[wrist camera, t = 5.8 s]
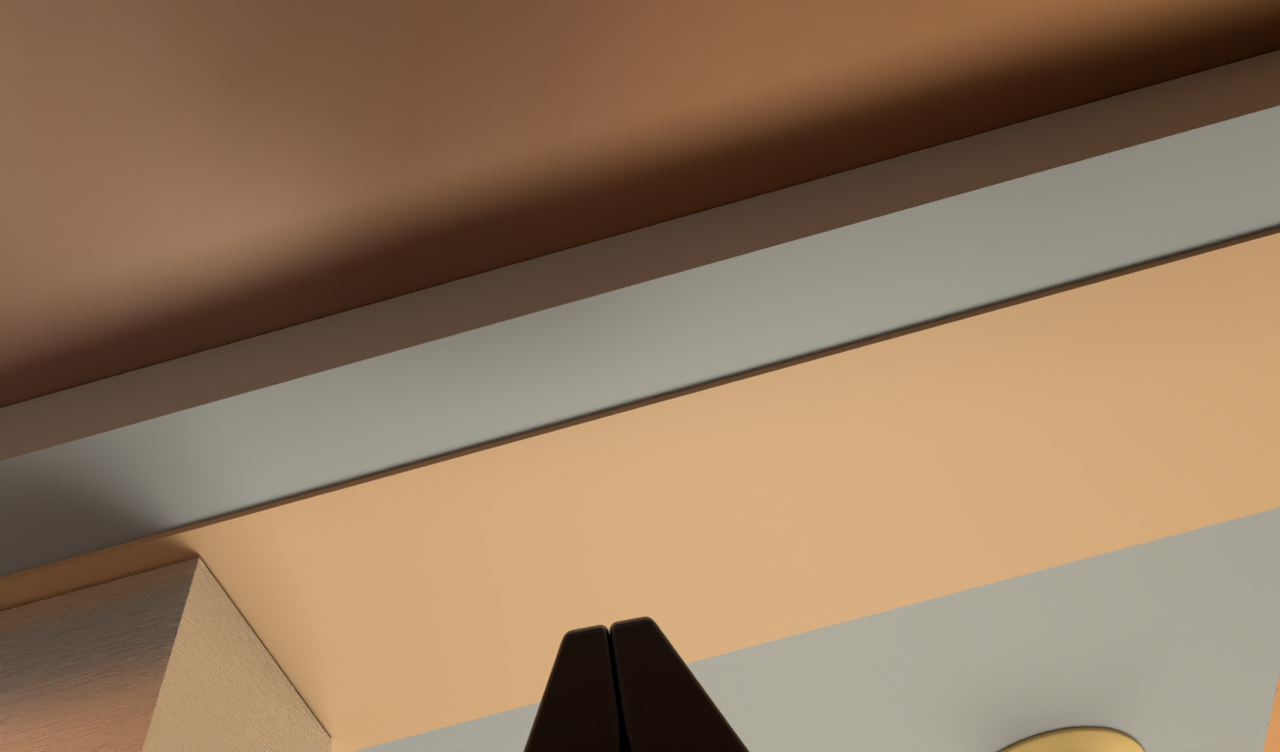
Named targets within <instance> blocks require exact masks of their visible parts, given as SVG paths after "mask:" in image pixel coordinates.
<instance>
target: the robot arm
mask: <svg viewBox="0 0 1280 752" xmlns="http://www.w3.org/2000/svg"><path fill="white" fill-rule="evenodd" d="M609 632H610V633H609ZM523 752H750V751H749V750H748V749H747V747H746V746H745V745H744V743H743V742H742V740H741V739H740V738H739V736H738V735H737V734H736V732H735V731H734V729H733V728H732V727H731V725H730V724H729V722H728V721H727V720H726V718H725V717H724V716H723V714H722V713H721V711H720V710H719V709H718V707H717V706H716V705H715V703H714V702H713V700H712V699H711V698H710V696H709V695H708V694H707V692H706V691H705V689H704V688H703V687H702V685H701V684H700V683H699V681H698V680H697V678H696V677H695V676H694V674H693V673H692V671H691V670H690V669H689V667H688V666H687V665H686V663H685V662H684V660H683V659H682V658H681V656H680V655H679V654H678V652H677V651H676V649H675V648H674V647H673V645H672V644H671V643H670V641H669V640H668V638H667V637H666V636H665V634H664V633H663V632H662V630H661V629H660V627H659V626H658V625H657V623H656V622H655V621H654V620H653V619H652V618H650V617H648V616H643V617H638V618H632V619H627V620H622V621H616V622H614V623H613V624H612V625H611V626H610V629H609V630H608V628H607V627H606V626H604V625H595V626H590V627H584V628H579V629H574V630H570V631H568V632H567V633H566V634H565V635H564V637H563V638H562V641H561V644H560V646H559V649H558V652H557V655H556V658H555V661H554V664H553V667H552V670H551V673H550V676H549V679H548V681H547V684H546V687H545V690H544V693H543V696H542V699H541V702H540V705H539V708H538V711H537V713H536V716H535V719H534V722H533V725H532V728H531V731H530V734H529V737H528V740H527V743H526V745H525V748H524V751H523Z"/></svg>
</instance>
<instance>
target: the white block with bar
mask: <svg viewBox="0 0 1280 752" xmlns="http://www.w3.org/2000/svg"><path fill="white" fill-rule="evenodd" d="M332 742H333V741H332V740H331V739H330V737H329V736H328V734H327V733H326V732H325V730H324V729H323V727H322V726H321V725H320V723H319V722H318V721H317V719H316V718H315V716H314V715H313V714H312V712H311V711H310V710H309V708H308V707H307V705H306V704H305V703H304V701H303V700H302V698H301V697H300V696H299V694H298V693H297V692H296V690H295V689H294V687H293V686H292V685H291V683H290V682H289V680H288V679H287V678H286V676H285V675H284V674H283V672H282V671H281V669H280V668H279V667H278V665H277V664H276V663H275V661H274V660H273V658H272V657H271V656H270V654H269V653H268V651H267V650H266V649H265V647H264V646H263V645H262V643H261V642H260V640H259V639H258V638H257V636H256V635H255V634H254V632H253V631H252V629H251V628H250V627H249V625H248V624H247V622H246V621H245V620H244V618H243V617H242V616H241V614H240V613H239V611H238V610H237V609H236V607H235V606H234V604H233V603H232V602H231V600H230V599H229V598H228V596H227V595H226V593H225V592H224V591H223V589H222V588H221V587H220V585H219V584H218V582H217V581H216V580H215V578H214V577H213V575H212V574H211V573H210V571H209V570H208V569H207V567H206V566H205V564H204V563H203V562H202V560H201V559H200V557H199V558H195V559H191V560H188V561H184V562H180V563H177V564H173V565H169V566H166V567H162V568H158V569H155V570H151V571H147V572H144V573H140V574H136V575H133V576H129V577H125V578H122V579H118V580H114V581H111V582H107V583H103V584H99V585H96V586H92V587H88V588H85V589H81V590H77V591H74V592H70V593H66V594H63V595H59V596H55V597H52V598H48V599H44V600H41V601H37V602H33V603H30V604H26V605H22V606H19V607H15V608H11V609H8V610H4V611H0V752H331V749H332Z"/></svg>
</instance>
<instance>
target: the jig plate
mask: <svg viewBox="0 0 1280 752" xmlns="http://www.w3.org/2000/svg"><path fill="white" fill-rule="evenodd" d="M199 557H200V559H201V560H202V562H203V563H204V564H205V566H206V567H207V569H208V570H209V571H210V573H211V574H212V575H213V577H214V578H215V580H216V581H217V582H218V584H219V585H220V587H221V588H222V589H223V591H224V592H225V593H226V595H227V596H228V598H229V599H230V600H231V602H232V603H233V604H234V606H235V607H236V609H237V610H238V611H239V613H240V614H241V616H242V617H243V618H244V620H245V621H246V622H247V624H248V625H249V627H250V628H251V629H252V631H253V632H254V634H255V635H256V636H257V638H258V639H259V640H260V642H261V643H262V645H263V646H264V647H265V649H266V650H267V651H268V653H269V654H270V656H271V657H272V658H273V660H274V661H275V663H276V664H277V665H278V667H279V668H280V669H281V671H282V672H283V674H284V675H285V676H286V678H287V679H288V680H289V682H290V683H291V685H292V686H293V687H294V689H295V690H296V692H297V693H298V694H299V696H300V697H301V698H302V700H303V701H304V703H305V704H306V705H307V707H308V708H309V710H310V711H311V712H312V714H313V715H314V716H315V718H316V719H317V721H318V722H319V723H320V725H321V726H322V727H323V729H324V730H325V732H326V733H327V734H328V736H329V737H330V739H331V740H332V741H333V742H332V749H331V752H523V751H524V748H525V745H526V743H527V740H528V737H529V734H530V731H531V728H532V725H533V722H534V719H535V716H536V713H537V711H538V708H539V705H540V702H541V699H542V696H543V693H544V690H545V687H546V684H547V681H548V679H549V676H550V673H551V670H552V667H553V664H554V661H555V658H556V655H557V652H558V649H559V646H560V644H561V641H562V638H563V637H564V635H565V634H566V633H567V632H568V631H570V630H574V629H579V628H584V627H590V626H595V625H604V626H606V627H607V628H608V630H609V629H610V626H611V625H612V624H613V623H614V622H616V621H622V620H627V619H632V618H638V617H643V616H648V617H650V618H652V619H653V620H654V621H655V622H656V623H657V625H658V626H659V627H660V629H661V630H662V632H663V633H664V634H665V636H666V637H667V638H668V640H669V641H670V643H671V644H672V645H673V647H674V648H675V649H676V651H677V652H678V654H679V655H680V656H681V658H682V659H683V660H684V662H685V663H686V665H687V666H688V667H689V669H690V670H691V671H692V673H693V674H694V676H695V677H696V678H697V680H698V681H699V683H700V684H701V685H702V687H703V688H704V689H705V691H706V692H707V694H708V695H709V696H710V698H711V699H712V700H713V702H714V703H715V705H716V706H717V707H718V709H719V710H720V711H721V713H722V714H723V716H724V717H725V718H726V720H727V721H728V722H729V724H730V725H731V727H732V728H733V729H734V731H735V732H736V734H737V735H738V736H739V738H740V739H741V740H742V742H743V743H744V745H745V746H746V747H747V749H748V750H749V751H750V752H1263V748H1264V743H1265V739H1266V734H1267V729H1268V724H1269V720H1270V715H1271V710H1272V705H1273V701H1274V696H1275V691H1276V686H1277V682H1278V677H1279V672H1280V50H1277V51H1274V52H1270V53H1266V54H1263V55H1259V56H1256V57H1252V58H1249V59H1245V60H1241V61H1238V62H1234V63H1231V64H1227V65H1224V66H1220V67H1216V68H1213V69H1209V70H1206V71H1202V72H1199V73H1195V74H1191V75H1188V76H1184V77H1181V78H1177V79H1174V80H1170V81H1166V82H1163V83H1159V84H1156V85H1152V86H1149V87H1145V88H1141V89H1138V90H1134V91H1131V92H1127V93H1124V94H1120V95H1116V96H1113V97H1109V98H1106V99H1102V100H1099V101H1095V102H1091V103H1088V104H1084V105H1081V106H1077V107H1074V108H1070V109H1066V110H1063V111H1059V112H1056V113H1052V114H1049V115H1045V116H1041V117H1038V118H1034V119H1031V120H1027V121H1024V122H1020V123H1016V124H1013V125H1009V126H1006V127H1002V128H999V129H995V130H991V131H988V132H984V133H981V134H977V135H974V136H970V137H966V138H963V139H959V140H956V141H952V142H949V143H945V144H941V145H938V146H934V147H931V148H927V149H924V150H920V151H916V152H913V153H909V154H906V155H902V156H899V157H895V158H891V159H888V160H884V161H881V162H877V163H874V164H870V165H866V166H863V167H859V168H856V169H852V170H849V171H845V172H841V173H838V174H834V175H831V176H827V177H824V178H820V179H816V180H813V181H809V182H806V183H802V184H799V185H795V186H791V187H788V188H784V189H781V190H777V191H774V192H770V193H766V194H763V195H759V196H756V197H752V198H749V199H745V200H741V201H738V202H734V203H731V204H727V205H724V206H720V207H716V208H713V209H709V210H706V211H702V212H699V213H695V214H691V215H688V216H684V217H681V218H677V219H674V220H670V221H666V222H663V223H659V224H656V225H652V226H649V227H645V228H641V229H638V230H634V231H631V232H627V233H624V234H620V235H616V236H613V237H609V238H606V239H602V240H599V241H595V242H591V243H588V244H584V245H581V246H577V247H574V248H570V249H566V250H563V251H559V252H556V253H552V254H549V255H545V256H541V257H538V258H534V259H531V260H527V261H524V262H520V263H516V264H513V265H509V266H506V267H502V268H499V269H495V270H491V271H488V272H484V273H481V274H477V275H474V276H470V277H466V278H463V279H459V280H456V281H452V282H449V283H445V284H441V285H438V286H434V287H431V288H427V289H424V290H420V291H416V292H413V293H409V294H406V295H402V296H399V297H395V298H391V299H388V300H384V301H381V302H377V303H374V304H370V305H366V306H363V307H359V308H356V309H352V310H349V311H345V312H341V313H338V314H334V315H331V316H327V317H324V318H320V319H316V320H313V321H309V322H306V323H302V324H299V325H295V326H291V327H288V328H284V329H281V330H277V331H274V332H270V333H266V334H263V335H259V336H256V337H252V338H249V339H245V340H241V341H238V342H234V343H231V344H227V345H224V346H220V347H216V348H213V349H209V350H206V351H202V352H199V353H195V354H191V355H188V356H184V357H181V358H177V359H174V360H170V361H166V362H163V363H159V364H156V365H152V366H149V367H145V368H141V369H138V370H134V371H131V372H127V373H124V374H120V375H116V376H113V377H109V378H106V379H102V380H99V381H95V382H91V383H88V384H84V385H81V386H77V387H74V388H70V389H66V390H63V391H59V392H56V393H52V394H49V395H45V396H41V397H38V398H34V399H31V400H27V401H24V402H20V403H16V404H13V405H9V406H6V407H2V408H0V611H4V610H8V609H11V608H15V607H19V606H22V605H26V604H30V603H33V602H37V601H41V600H44V599H48V598H52V597H55V596H59V595H63V594H66V593H70V592H74V591H77V590H81V589H85V588H88V587H92V586H96V585H99V584H103V583H107V582H111V581H114V580H118V579H122V578H125V577H129V576H133V575H136V574H140V573H144V572H147V571H151V570H155V569H158V568H162V567H166V566H169V565H173V564H177V563H180V562H184V561H188V560H191V559H195V558H199ZM609 633H610V632H609Z"/></svg>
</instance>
